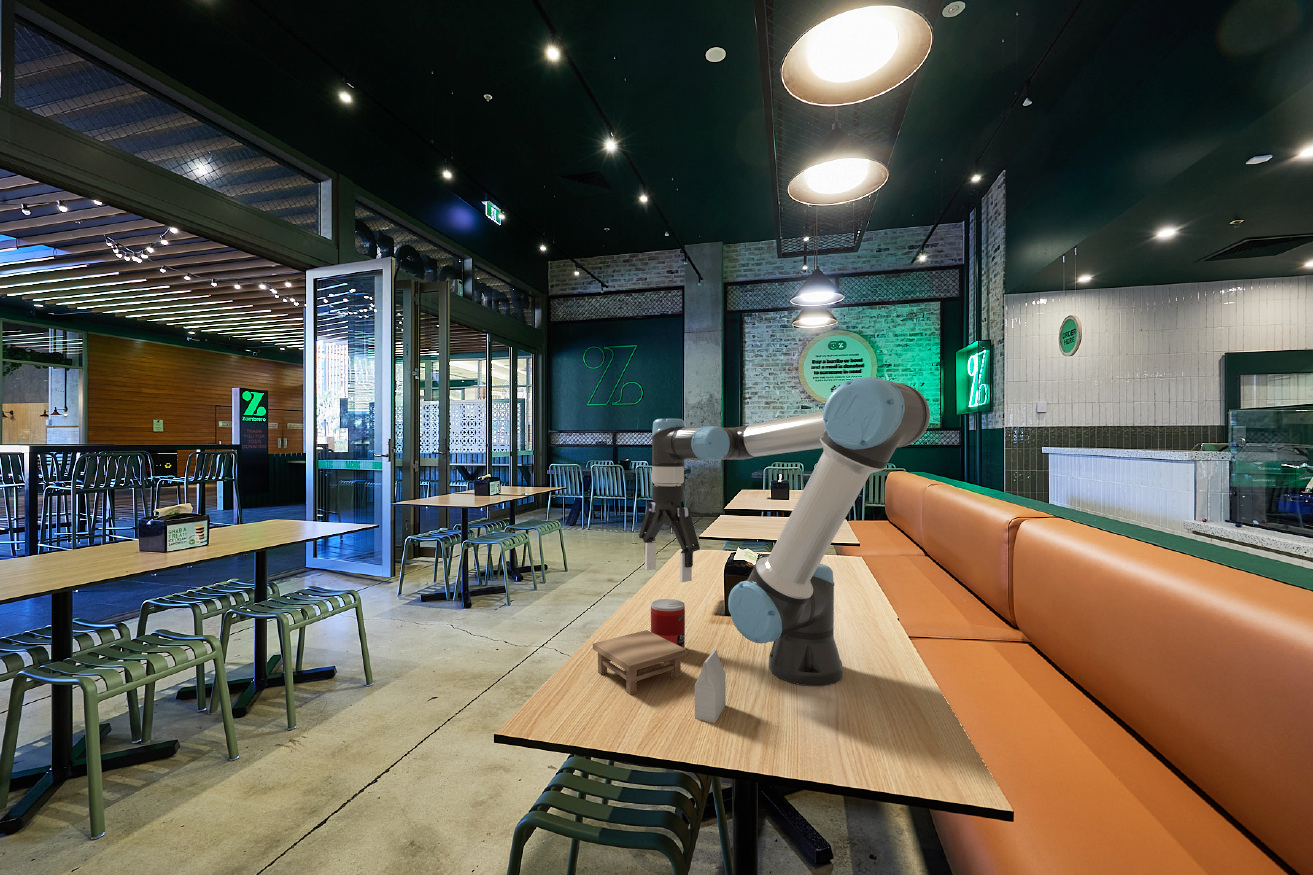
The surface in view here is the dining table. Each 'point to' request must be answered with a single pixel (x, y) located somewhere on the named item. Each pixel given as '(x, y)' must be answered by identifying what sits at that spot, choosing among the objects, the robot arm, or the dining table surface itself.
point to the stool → (639, 656)
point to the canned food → (669, 620)
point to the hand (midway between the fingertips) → (667, 575)
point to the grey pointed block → (710, 690)
